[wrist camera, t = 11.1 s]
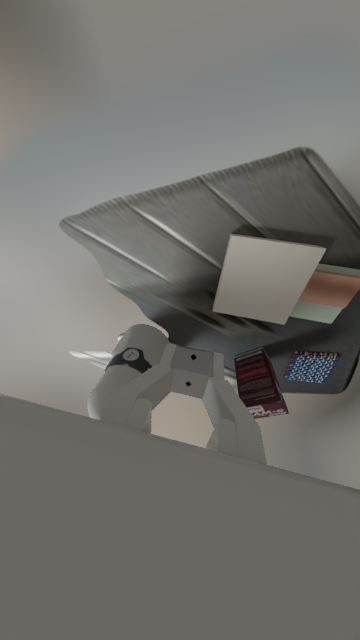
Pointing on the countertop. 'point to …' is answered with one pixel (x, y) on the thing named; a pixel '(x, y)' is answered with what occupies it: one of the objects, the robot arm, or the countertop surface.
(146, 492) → the robot arm
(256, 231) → the countertop surface
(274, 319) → the pale grey square slab
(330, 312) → the mat
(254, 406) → the supplement box
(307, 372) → the woven mat
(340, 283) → the terracotta flat block
